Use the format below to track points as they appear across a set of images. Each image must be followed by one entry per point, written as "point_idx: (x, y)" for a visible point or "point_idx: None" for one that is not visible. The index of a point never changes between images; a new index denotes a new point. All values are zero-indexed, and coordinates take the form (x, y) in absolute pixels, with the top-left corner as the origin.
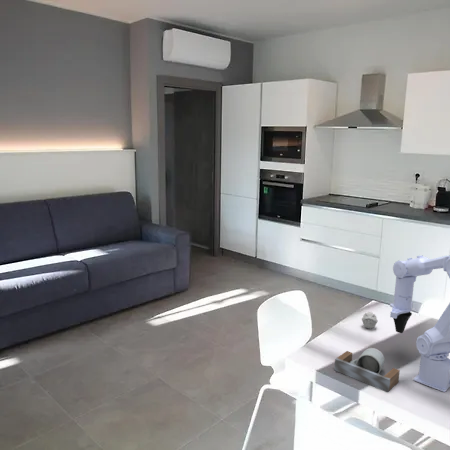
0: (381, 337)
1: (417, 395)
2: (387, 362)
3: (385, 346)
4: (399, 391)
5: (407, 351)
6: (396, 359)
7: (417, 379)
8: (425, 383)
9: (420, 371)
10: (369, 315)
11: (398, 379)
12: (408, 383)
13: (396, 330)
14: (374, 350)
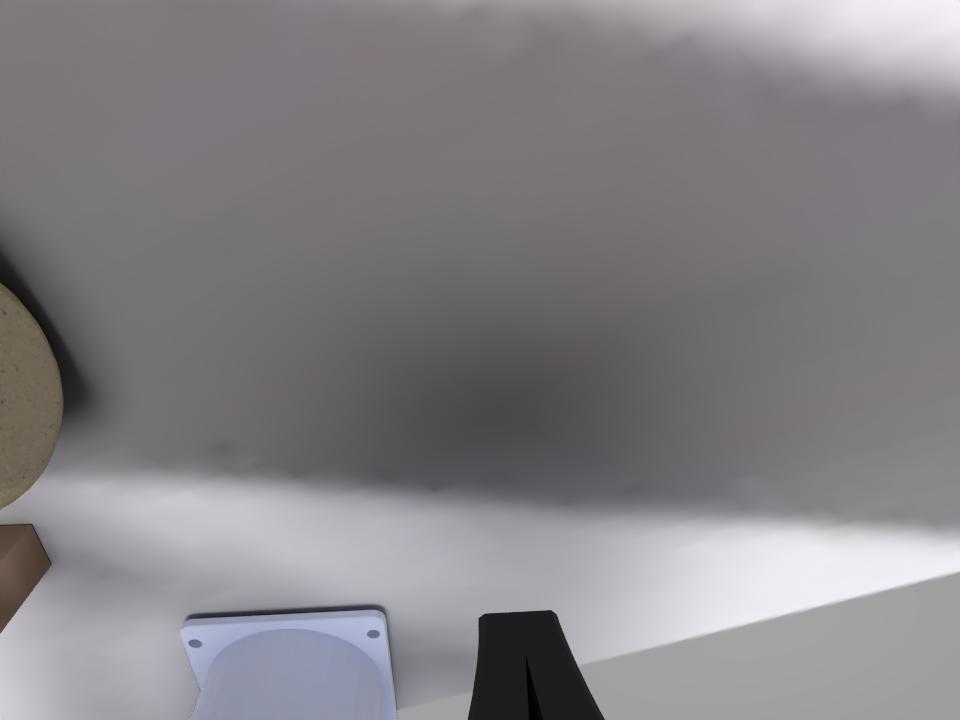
0: (935, 6)
1: (29, 686)
2: (288, 372)
3: (663, 186)
4: None
5: (688, 405)
6: (428, 403)
7: (201, 645)
8: (201, 687)
9: (199, 715)
10: None
11: (28, 586)
12: (114, 608)
13: (480, 643)
14: None
